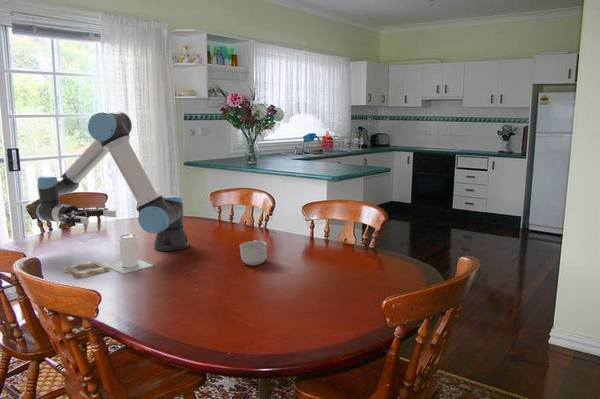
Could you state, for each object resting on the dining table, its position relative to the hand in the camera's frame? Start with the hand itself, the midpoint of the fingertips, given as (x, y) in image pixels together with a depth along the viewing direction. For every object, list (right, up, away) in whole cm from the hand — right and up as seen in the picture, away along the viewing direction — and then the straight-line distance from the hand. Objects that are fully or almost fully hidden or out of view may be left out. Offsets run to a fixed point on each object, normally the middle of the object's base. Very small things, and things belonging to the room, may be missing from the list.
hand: (101, 217), depth 199 cm
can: (+12, -19, -2) cm, 23 cm away
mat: (+12, -19, -2) cm, 23 cm away
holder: (-2, -20, -8) cm, 22 cm away
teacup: (+61, -18, +3) cm, 64 cm away
